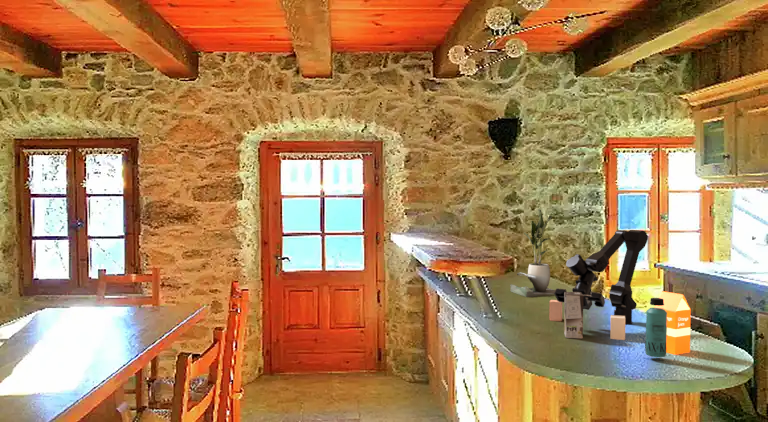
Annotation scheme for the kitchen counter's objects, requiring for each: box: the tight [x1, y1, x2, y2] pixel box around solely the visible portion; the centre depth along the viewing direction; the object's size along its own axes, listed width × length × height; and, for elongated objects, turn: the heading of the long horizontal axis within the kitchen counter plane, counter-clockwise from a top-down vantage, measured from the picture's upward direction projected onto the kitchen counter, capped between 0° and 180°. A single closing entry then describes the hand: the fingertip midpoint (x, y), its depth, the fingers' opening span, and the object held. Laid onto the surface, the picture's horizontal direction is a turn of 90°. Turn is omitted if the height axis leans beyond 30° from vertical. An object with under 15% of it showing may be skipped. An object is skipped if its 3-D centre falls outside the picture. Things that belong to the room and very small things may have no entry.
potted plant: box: [509, 208, 556, 298], centre depth 339 cm, size 22×19×45 cm
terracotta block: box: [548, 299, 563, 322], centre depth 271 cm, size 5×5×8 cm
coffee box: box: [563, 291, 584, 339], centre depth 241 cm, size 9×6×16 cm
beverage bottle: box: [644, 297, 668, 358], centre depth 207 cm, size 6×7×20 cm
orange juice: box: [653, 290, 692, 356], centre depth 219 cm, size 8×9×20 cm
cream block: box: [609, 314, 626, 341], centre depth 238 cm, size 5×5×8 cm
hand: (572, 314), depth 246 cm, fingers closed
